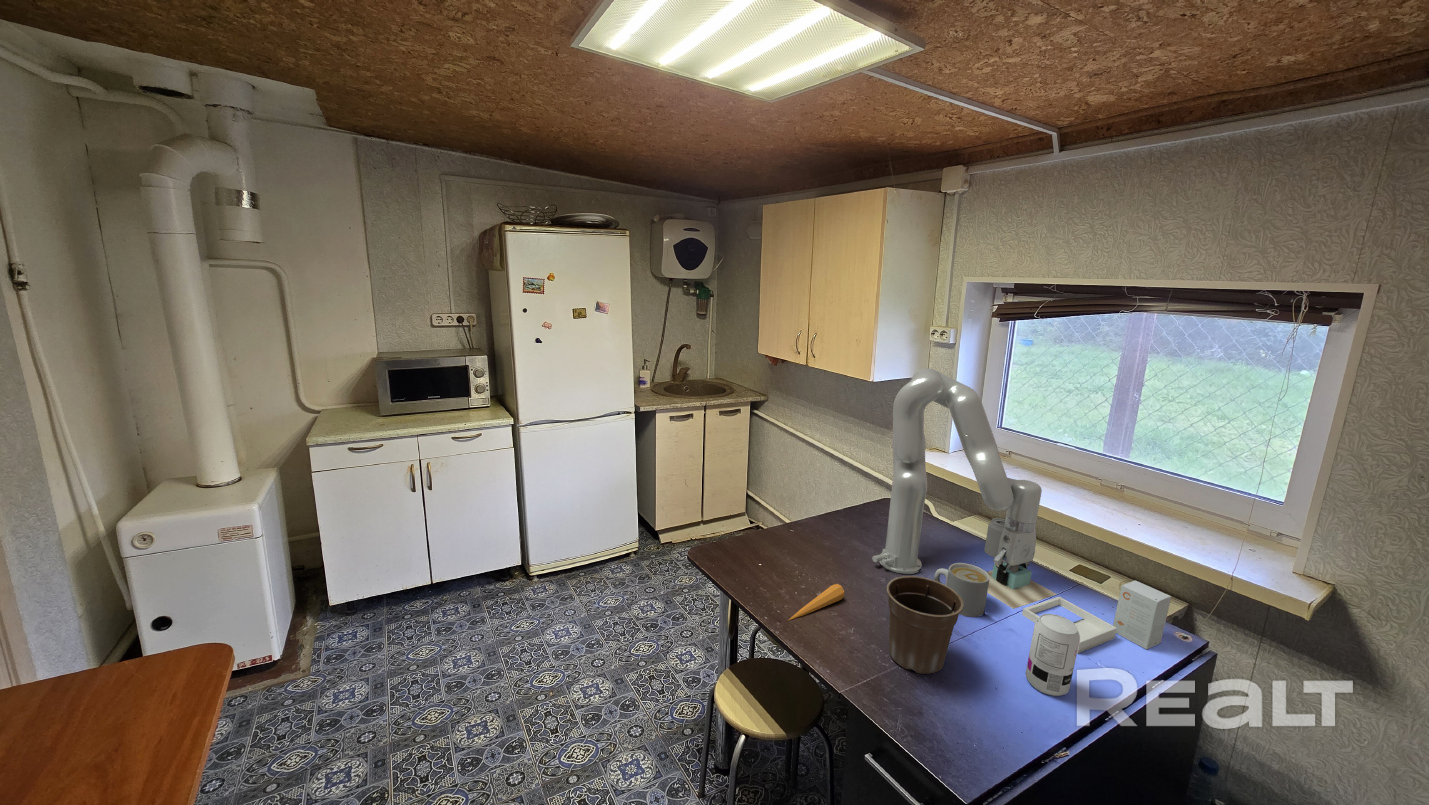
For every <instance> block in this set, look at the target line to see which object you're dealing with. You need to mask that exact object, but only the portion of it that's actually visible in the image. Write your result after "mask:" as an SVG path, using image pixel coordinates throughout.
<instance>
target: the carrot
mask: <svg viewBox="0 0 1429 805" xmlns="http://www.w3.org/2000/svg"><path fill="white" fill-rule="evenodd" d="M844 597H845V590H844V588H843V586H842V585H840V584H839V583H835V584H832V585H830V586H829V587H828V588H826V589H825V590H824V591H822V592H821V593H819V594H818V595H817V596H816V597H814V598H813V599H812V600H811V601H809V602H808V603H807V604H805V605H804V606H803V607H802V608H800V609H799V610H798V611H797V612H796V613H794V614H793V615H792V616H791V617H790V618H789V619H787V622H789V621H791V620H794V619H797V618H799V617H803V616H805V615H808V614H810V613H812V612H815V611H817V610H820V609H822V608H825V607H827V606H829V605H832V604H834V603H837V602H839V601H840V600H843V598H844Z"/></svg>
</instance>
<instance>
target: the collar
mask: <svg viewBox="0 0 1429 805" xmlns="http://www.w3.org/2000/svg"><path fill="white" fill-rule="evenodd" d="M1006 564H1007V563H1005V562H1003V564H1002V565H1003V566H1004V567H1005V566H1006ZM1018 566H1019V567H1018V572H1015V573H1014V572H1012V571H1010V570H1008V573H1009V576H1008V582H1007V586H1008V587H1010V588H1012V589H1016V588H1019V587H1022V586H1025V585H1029V584H1030V580H1032V574H1033V573H1032V572H1033V571H1032V570H1030V569H1028V568H1027V569H1026V568H1024V567H1022V566H1020V565H1018ZM992 570H993V571H992ZM992 570H991V571H992V577H993V578H994V579H996V576H997V570H998V569H997V567H996V565H995V563H994V564H993V565H992Z"/></svg>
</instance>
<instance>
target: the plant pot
mask: <svg viewBox="0 0 1429 805" xmlns="http://www.w3.org/2000/svg"><path fill="white" fill-rule="evenodd" d="M940 582H941V581H940ZM940 582H937V581H935V580H934V579H931V578H927V577H923V576H915V575H903V576H897V577H895V578H892V579H891V580H889V582H888V583H887V585H886V593H887V595H888V599H887V602H888V608H889V620H888V621H889V623H888V624H889V626H888V627H889V628H888V630H889V631H888V632H889V633H888V654H889V655H890V657H891V659H893V661H894V662H895V663H897V665H898V666H901V667H902V668H903V669H906V670H912V671H915V673H917V674H924V675H928V674H936V673H937V672H939V671H941V670H942V668H944V665H945V661H946V657H947V653H948V650H949V646H950V642H951V638H952V635H953V631H954V628H955V625H956V624H957V622H958V618H959V615H960V614H959V613H960V612H961V611H962V609H963V600H962V598H961V597H960V596H959V594H958V593H957V592H955V591H954V590H953V589H951V588H950V587H948V586H946V585H944V584H945V583H942V582H941V583H940Z"/></svg>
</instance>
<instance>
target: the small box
mask: <svg viewBox="0 0 1429 805" xmlns="http://www.w3.org/2000/svg"><path fill="white" fill-rule="evenodd" d="M1171 599H1172V596H1171V595H1169V594H1168V593H1164V592H1163V591H1160V590H1158V589H1156V588H1154V587H1151V586H1149V585H1147V584H1144V583H1143V582H1140V581H1137V580H1133V581H1130V582H1127V583H1124V584H1121V586H1120V591H1119V595H1118V600H1117V604H1116V605H1117V606H1116V611H1115V614H1114V619H1113V623H1112V625H1113V626H1114V627H1116V628H1117V630H1116V634H1117V635H1119V636H1120V637H1123V638H1124V639H1125V640H1128V641H1130V642H1132V643H1134V644H1135V645H1138V646H1139V647H1141V648H1143V649H1145V650H1148V649H1152V648H1153V647H1155V646H1157V645H1159V644H1161V642H1162V639H1163V638H1162V637H1163V633H1164V630H1165V626H1166V621H1167V618H1168V613H1169V609H1170V604H1171Z"/></svg>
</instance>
